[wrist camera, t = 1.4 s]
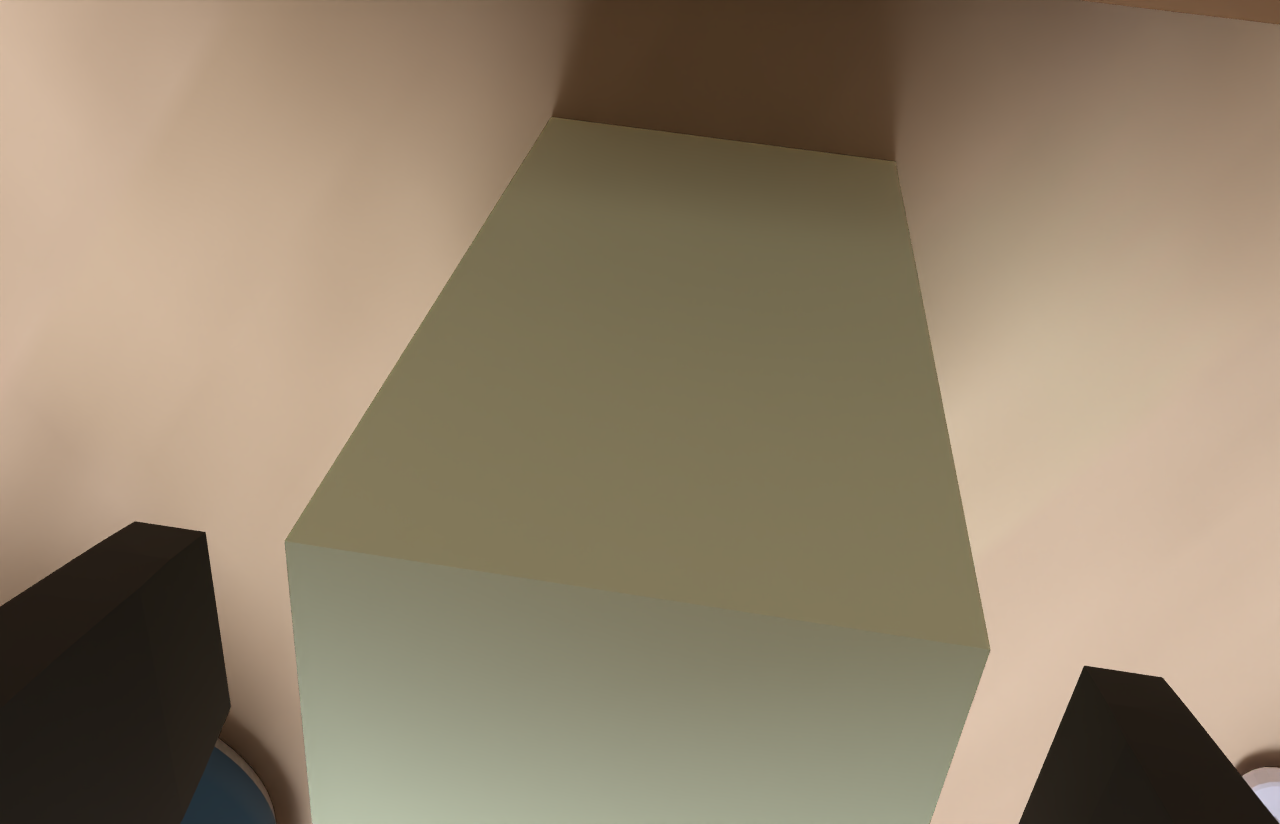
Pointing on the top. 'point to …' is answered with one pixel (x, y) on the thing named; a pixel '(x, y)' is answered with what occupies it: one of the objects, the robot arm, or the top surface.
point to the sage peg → (649, 512)
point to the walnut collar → (1212, 8)
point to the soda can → (229, 792)
